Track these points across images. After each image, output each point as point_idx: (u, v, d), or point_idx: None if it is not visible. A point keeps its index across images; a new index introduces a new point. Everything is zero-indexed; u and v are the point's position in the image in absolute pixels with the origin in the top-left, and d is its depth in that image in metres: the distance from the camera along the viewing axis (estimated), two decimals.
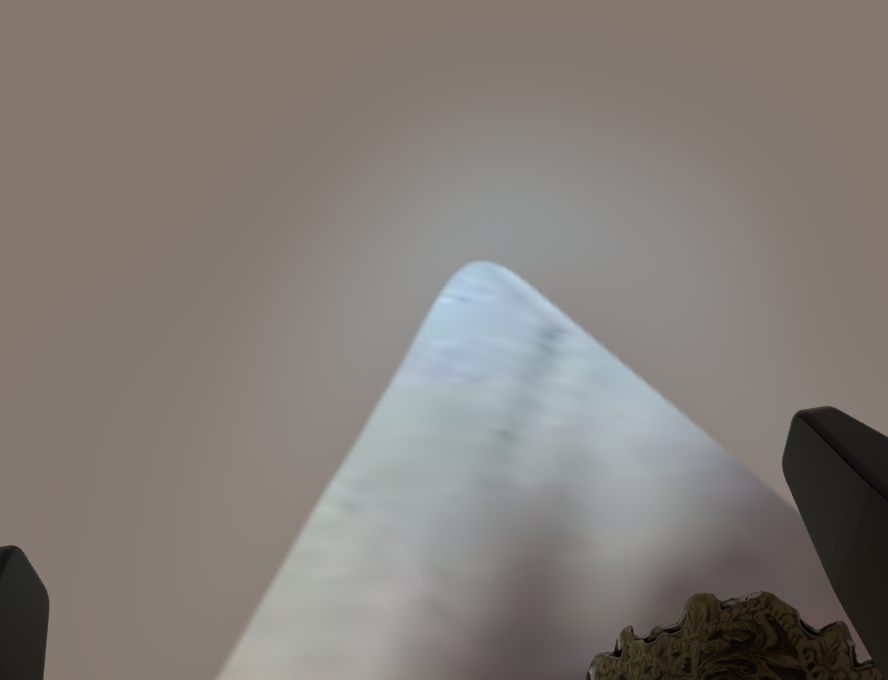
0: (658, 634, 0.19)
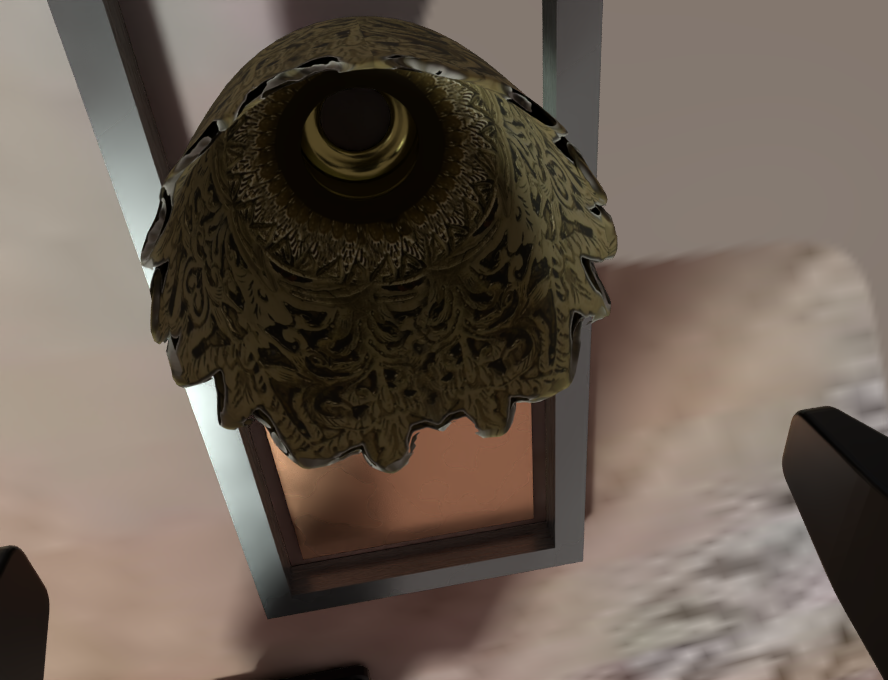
0: (295, 63, 0.12)
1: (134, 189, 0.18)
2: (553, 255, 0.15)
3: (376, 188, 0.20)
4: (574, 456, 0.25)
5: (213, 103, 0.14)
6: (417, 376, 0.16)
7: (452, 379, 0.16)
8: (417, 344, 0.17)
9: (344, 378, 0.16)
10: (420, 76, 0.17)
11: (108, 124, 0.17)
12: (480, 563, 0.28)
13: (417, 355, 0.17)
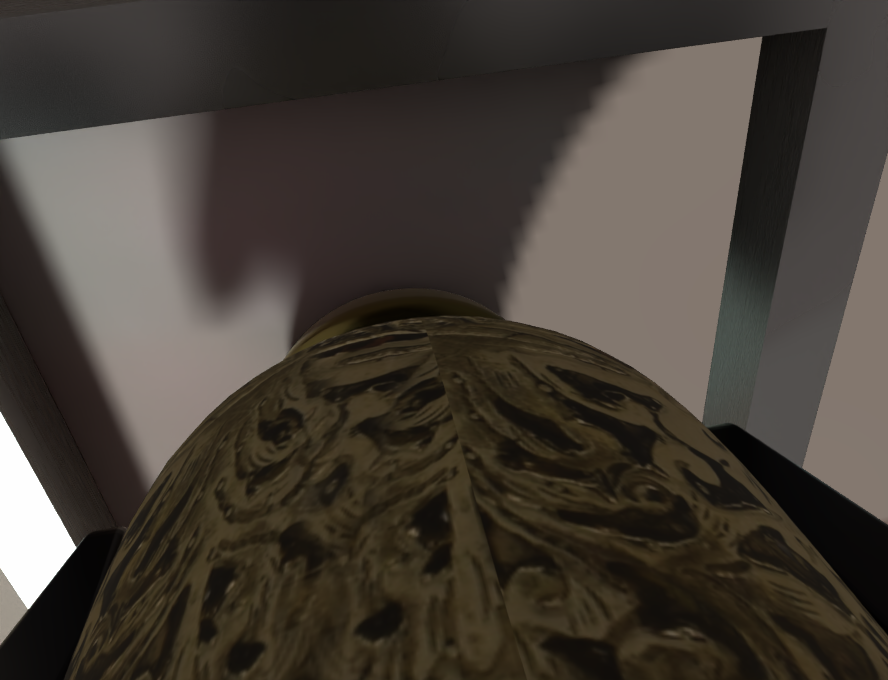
0: None
1: (15, 534, 0.10)
2: None
3: None
4: None
5: (111, 596, 0.06)
6: None
7: None
8: None
9: None
10: None
11: None
12: None
13: None
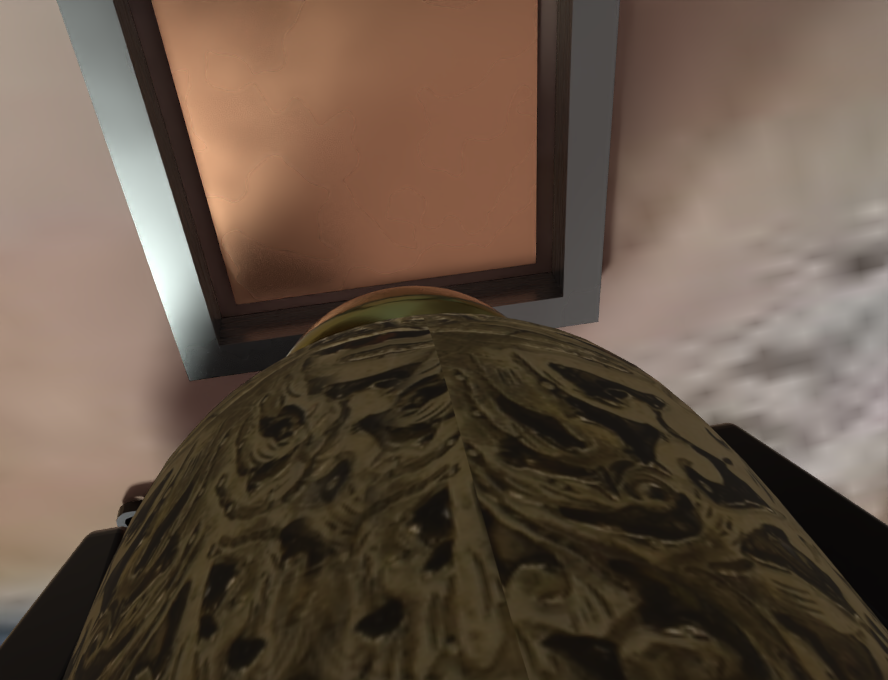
0: None
1: None
2: None
3: None
4: (593, 143, 0.19)
5: (112, 592, 0.06)
6: None
7: None
8: None
9: None
10: None
11: None
12: None
13: None
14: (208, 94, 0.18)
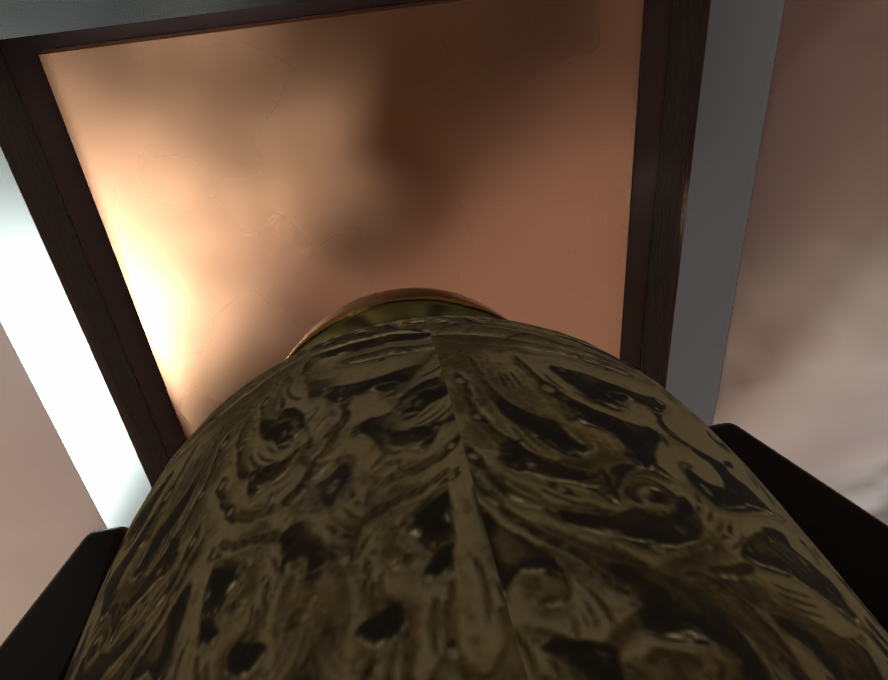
0: None
1: None
2: None
3: None
4: (715, 269, 0.13)
5: (112, 596, 0.06)
6: None
7: None
8: None
9: None
10: None
11: None
12: None
13: None
14: (146, 213, 0.12)
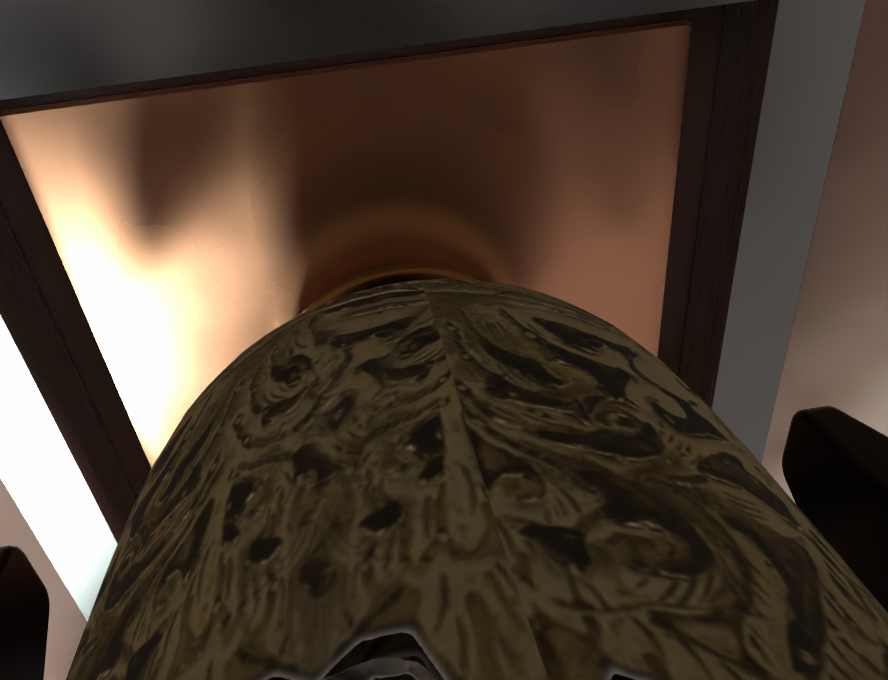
0: (321, 631, 0.04)
1: None
2: None
3: None
4: (762, 341, 0.12)
5: (140, 520, 0.06)
6: None
7: None
8: None
9: None
10: None
11: None
12: None
13: None
14: (126, 285, 0.11)
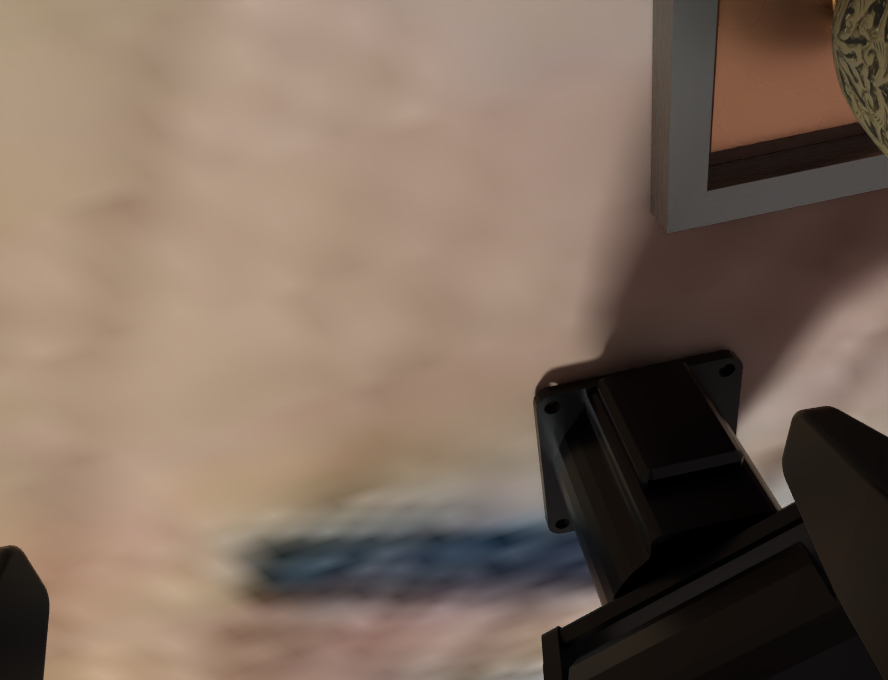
0: None
1: None
2: None
3: None
4: None
5: None
6: None
7: None
8: None
9: None
10: None
11: None
12: None
13: None
14: None
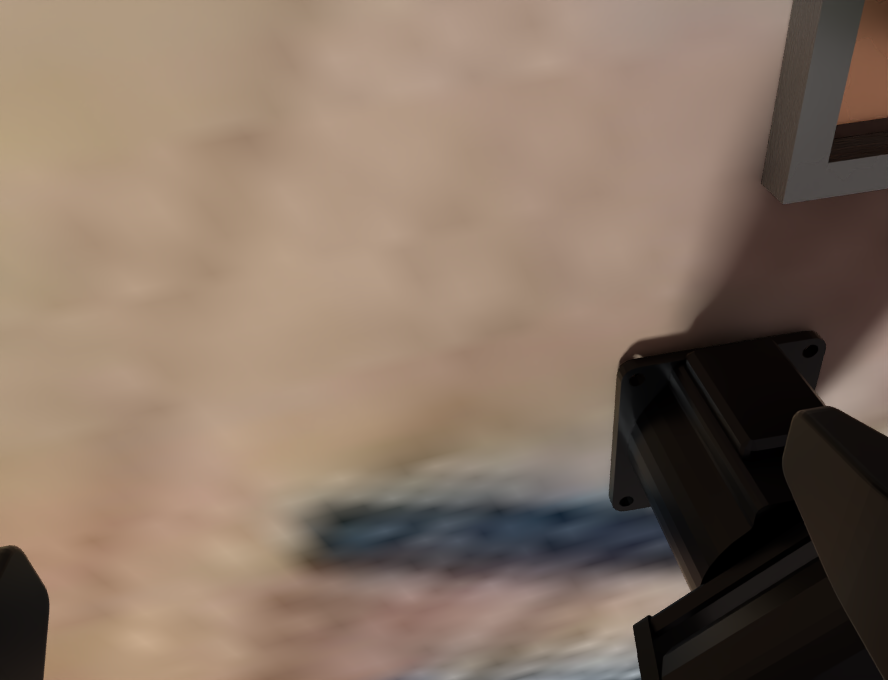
0: None
1: None
2: None
3: None
4: None
5: None
6: None
7: None
8: None
9: None
10: None
11: None
12: None
13: None
14: None
